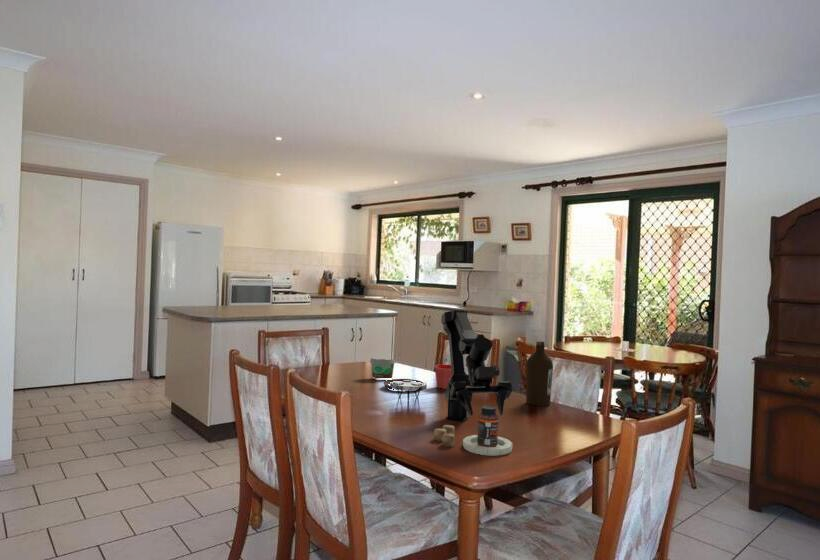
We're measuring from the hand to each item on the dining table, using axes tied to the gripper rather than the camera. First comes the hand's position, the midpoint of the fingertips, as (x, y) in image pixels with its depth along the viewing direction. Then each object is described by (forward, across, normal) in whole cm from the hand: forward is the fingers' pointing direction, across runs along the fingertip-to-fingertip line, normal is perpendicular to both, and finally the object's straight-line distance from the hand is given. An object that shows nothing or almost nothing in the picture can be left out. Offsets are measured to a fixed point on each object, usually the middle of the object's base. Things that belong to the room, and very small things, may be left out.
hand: (486, 414), depth 162 cm
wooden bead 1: (+2, -12, +12) cm, 17 cm away
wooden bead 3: (+5, -11, +8) cm, 15 cm away
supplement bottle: (+7, 0, +5) cm, 9 cm away
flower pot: (-51, +9, +66) cm, 84 cm away
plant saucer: (-50, -10, +65) cm, 83 cm away
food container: (-64, -18, +80) cm, 104 cm away
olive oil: (-30, +40, +44) cm, 66 cm away
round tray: (+8, 0, +6) cm, 9 cm away
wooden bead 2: (-1, -8, +15) cm, 17 cm away
